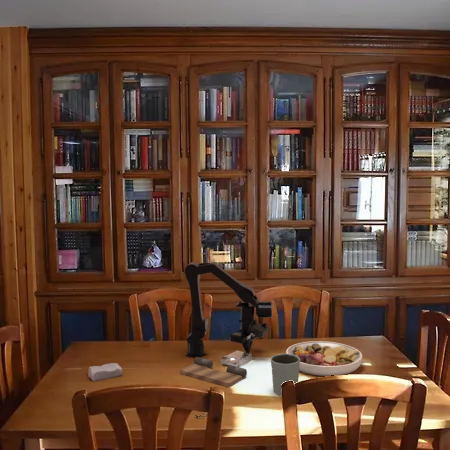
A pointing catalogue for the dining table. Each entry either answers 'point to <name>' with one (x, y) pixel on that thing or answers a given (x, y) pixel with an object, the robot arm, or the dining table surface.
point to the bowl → (326, 358)
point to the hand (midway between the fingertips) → (247, 353)
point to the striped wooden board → (214, 372)
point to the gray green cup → (284, 370)
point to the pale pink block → (236, 359)
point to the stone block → (104, 371)
